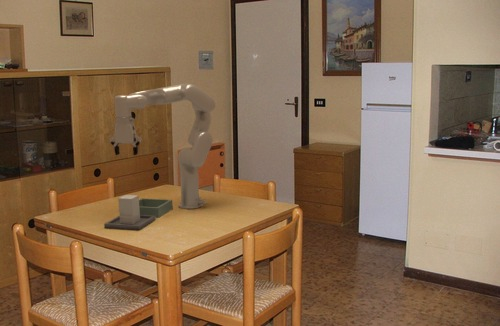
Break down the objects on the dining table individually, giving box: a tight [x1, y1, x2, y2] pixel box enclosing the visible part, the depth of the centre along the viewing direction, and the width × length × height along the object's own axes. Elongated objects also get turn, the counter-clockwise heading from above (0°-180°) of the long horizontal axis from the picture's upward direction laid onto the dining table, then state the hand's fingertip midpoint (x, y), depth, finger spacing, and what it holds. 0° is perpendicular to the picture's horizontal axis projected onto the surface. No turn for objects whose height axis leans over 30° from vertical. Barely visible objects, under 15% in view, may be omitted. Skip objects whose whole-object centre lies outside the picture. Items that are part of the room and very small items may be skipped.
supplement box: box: [117, 194, 140, 224], centre depth 276 cm, size 7×7×13 cm
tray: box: [103, 215, 157, 232], centre depth 277 cm, size 18×18×2 cm
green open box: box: [139, 197, 174, 219], centre depth 297 cm, size 17×17×5 cm
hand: (126, 154), depth 286 cm, fingers open, 9 cm apart
